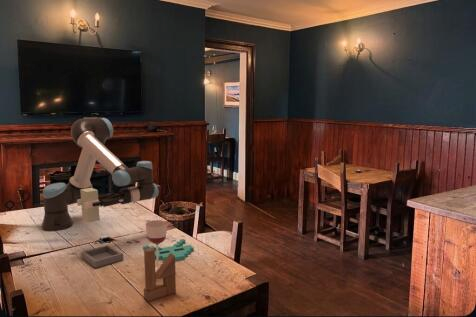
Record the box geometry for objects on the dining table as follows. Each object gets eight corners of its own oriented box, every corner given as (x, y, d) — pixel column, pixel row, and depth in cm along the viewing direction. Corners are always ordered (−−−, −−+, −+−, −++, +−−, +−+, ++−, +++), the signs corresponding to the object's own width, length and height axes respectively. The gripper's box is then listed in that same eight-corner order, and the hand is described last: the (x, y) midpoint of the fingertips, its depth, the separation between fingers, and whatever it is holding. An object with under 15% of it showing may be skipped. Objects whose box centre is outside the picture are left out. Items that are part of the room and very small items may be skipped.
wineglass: (159, 277, 151) (157, 227, 148) (143, 271, 156) (141, 224, 153) (172, 269, 158) (171, 222, 155) (157, 264, 162) (155, 219, 160)
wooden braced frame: (176, 293, 139) (175, 245, 136) (148, 302, 132) (146, 252, 130) (171, 289, 141) (170, 242, 139) (143, 297, 135) (141, 249, 133)
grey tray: (81, 258, 169) (81, 252, 169) (108, 251, 178) (108, 244, 177) (95, 268, 159) (95, 261, 158) (123, 260, 167) (123, 253, 167)
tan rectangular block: (82, 219, 177) (80, 189, 175) (93, 217, 180) (91, 187, 178) (88, 222, 172) (86, 191, 170) (99, 220, 175) (97, 190, 173)
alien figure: (143, 250, 180) (154, 266, 162) (143, 245, 179) (154, 261, 162) (184, 243, 189) (199, 257, 171) (183, 238, 188) (199, 252, 171)
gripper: (139, 206, 181) (91, 217, 165) (118, 199, 195) (73, 208, 180) (138, 191, 180) (89, 200, 164) (118, 184, 194) (71, 192, 178)
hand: (81, 204), depth 172 cm, fingers closed on tan rectangular block, 7 cm apart
